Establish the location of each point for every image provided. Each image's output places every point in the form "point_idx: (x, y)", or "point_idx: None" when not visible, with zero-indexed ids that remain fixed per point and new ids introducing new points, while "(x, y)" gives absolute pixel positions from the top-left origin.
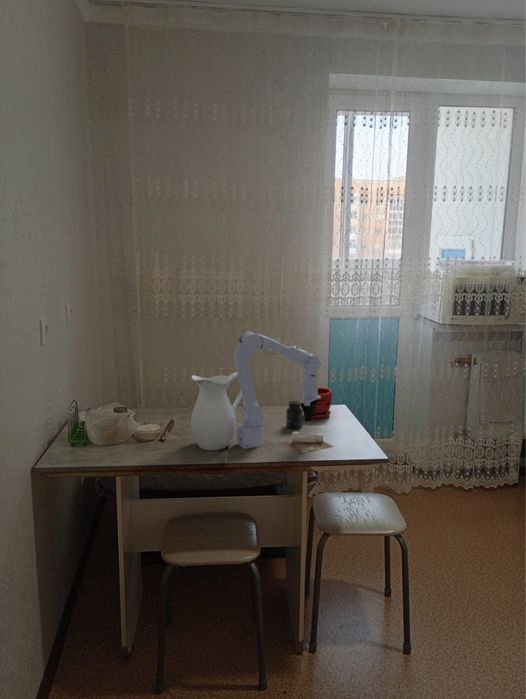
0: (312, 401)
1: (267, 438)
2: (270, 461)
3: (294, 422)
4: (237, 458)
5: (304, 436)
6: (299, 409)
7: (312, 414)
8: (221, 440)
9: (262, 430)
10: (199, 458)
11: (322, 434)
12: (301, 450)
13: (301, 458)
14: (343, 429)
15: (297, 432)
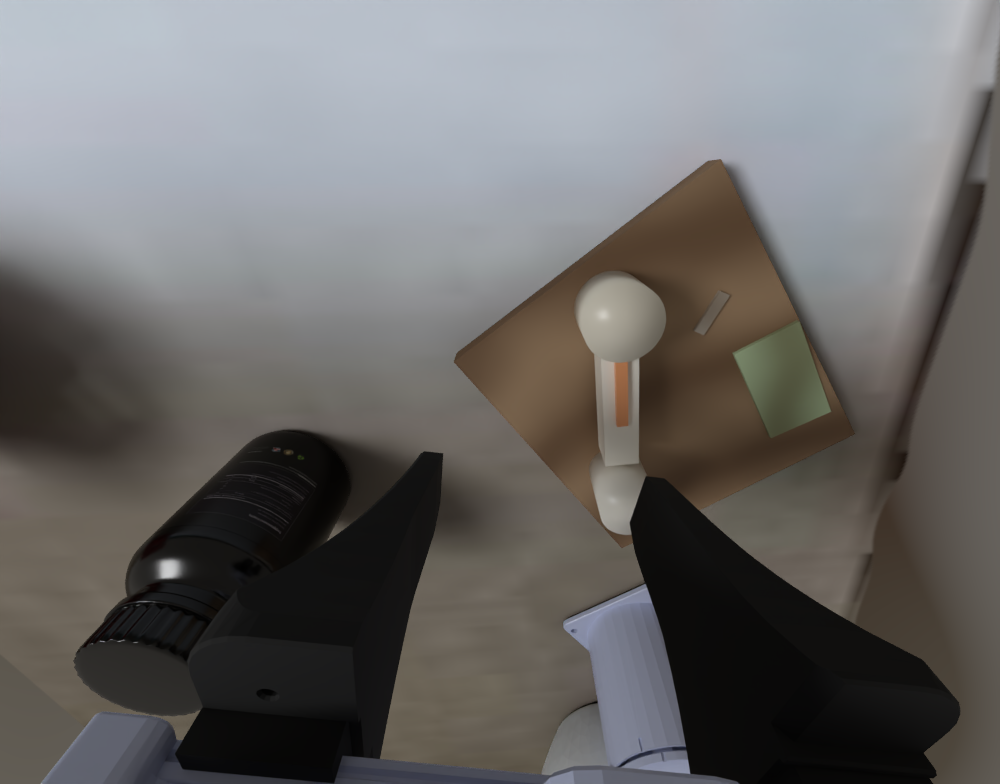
0: (377, 671)
1: (501, 584)
2: (860, 551)
3: (324, 519)
4: None
5: (616, 435)
6: (210, 577)
7: (437, 481)
8: None
9: (669, 697)
10: None
11: (618, 293)
12: (792, 425)
13: (856, 407)
14: (103, 50)
15: (624, 503)
